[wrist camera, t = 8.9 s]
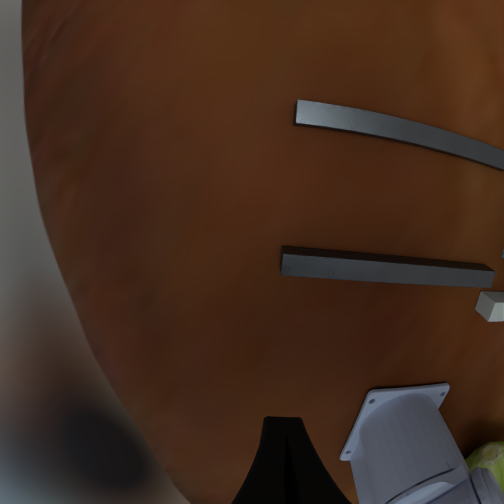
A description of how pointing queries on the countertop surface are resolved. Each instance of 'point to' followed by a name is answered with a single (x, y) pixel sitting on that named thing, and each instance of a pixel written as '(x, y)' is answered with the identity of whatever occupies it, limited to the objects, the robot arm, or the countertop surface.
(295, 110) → the parallel guide rails
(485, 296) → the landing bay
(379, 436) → the robot arm
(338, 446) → the countertop surface
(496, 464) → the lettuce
